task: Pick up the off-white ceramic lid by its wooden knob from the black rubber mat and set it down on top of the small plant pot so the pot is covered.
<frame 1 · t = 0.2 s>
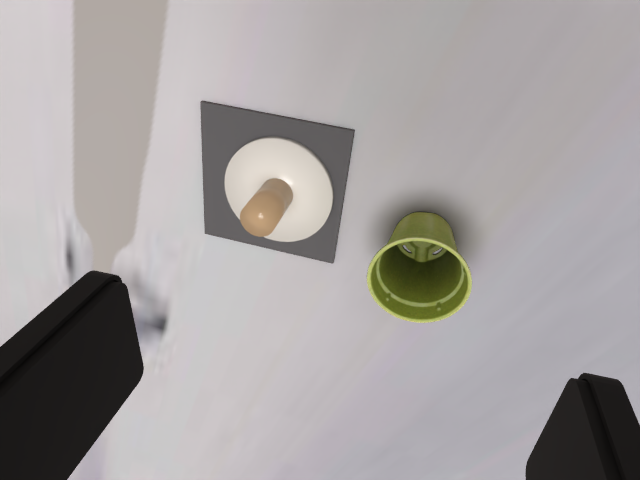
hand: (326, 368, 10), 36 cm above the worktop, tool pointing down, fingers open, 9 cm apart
plant pot: (422, 234, 49), on the worktop
lid: (279, 189, 49), resting on mat
mat: (272, 186, 50), on the worktop
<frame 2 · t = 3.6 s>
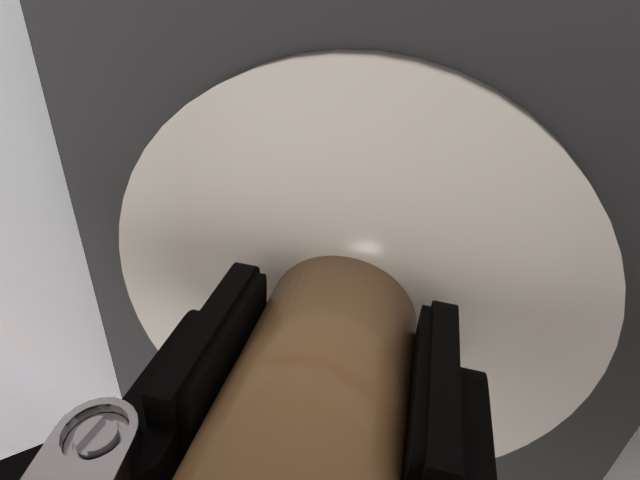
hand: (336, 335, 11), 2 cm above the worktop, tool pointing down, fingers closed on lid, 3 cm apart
lid: (349, 293, 12), resting on mat, touching gripper
mat: (355, 253, 12), on the worktop
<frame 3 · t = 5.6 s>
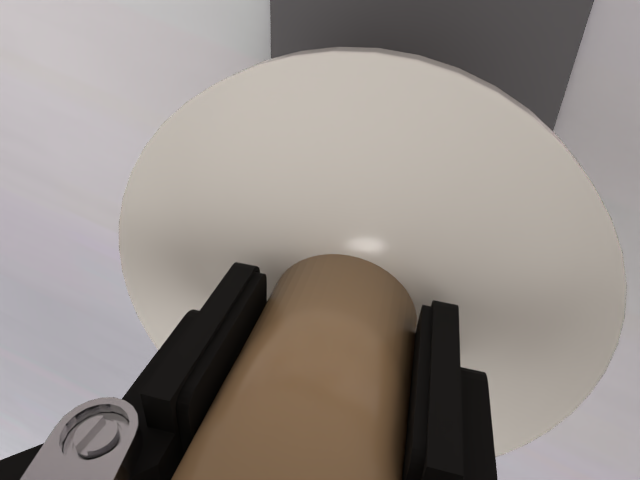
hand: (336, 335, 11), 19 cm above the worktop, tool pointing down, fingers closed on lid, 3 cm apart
lid: (349, 291, 12), point 17 cm above the worktop, touching gripper
mat: (413, 54, 25), on the worktop
when the fingers open (12 cm above the worktop, at t = 7.8 s): lid drops 2 cm, resting on plant pot.
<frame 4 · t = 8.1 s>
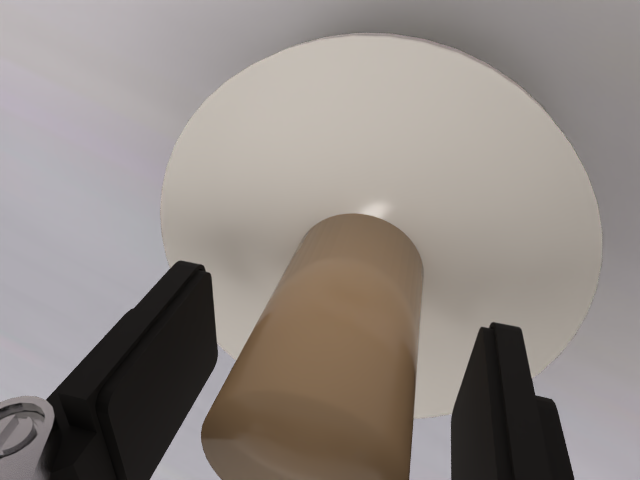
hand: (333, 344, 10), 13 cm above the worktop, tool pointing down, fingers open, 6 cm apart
lid: (363, 252, 14), point 9 cm above the worktop, touching plant pot
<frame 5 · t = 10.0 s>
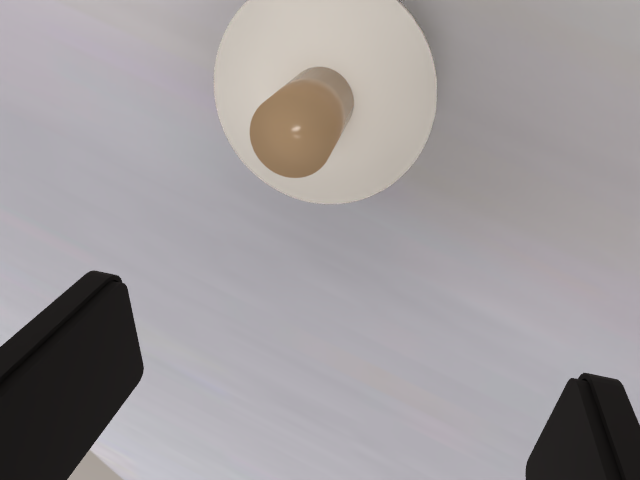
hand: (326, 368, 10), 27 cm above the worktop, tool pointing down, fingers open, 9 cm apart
lid: (324, 97, 25), point 9 cm above the worktop, touching plant pot
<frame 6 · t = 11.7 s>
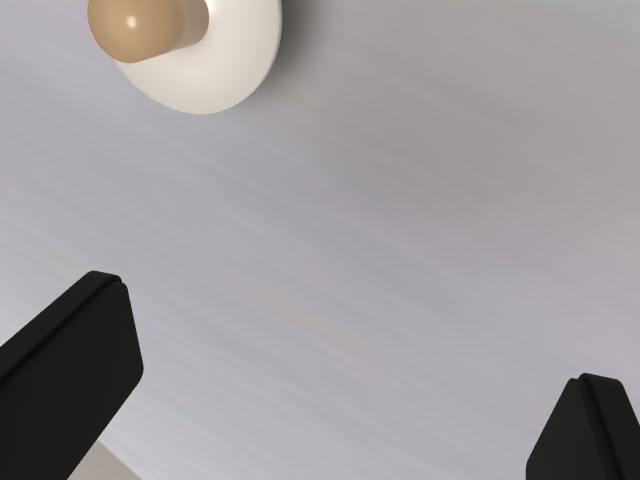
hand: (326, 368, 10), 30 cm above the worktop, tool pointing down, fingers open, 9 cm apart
lid: (189, 12, 28), point 9 cm above the worktop, touching plant pot
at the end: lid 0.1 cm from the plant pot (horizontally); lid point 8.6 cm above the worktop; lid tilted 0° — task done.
